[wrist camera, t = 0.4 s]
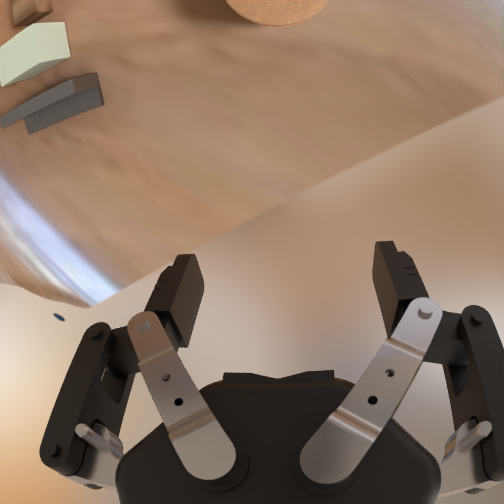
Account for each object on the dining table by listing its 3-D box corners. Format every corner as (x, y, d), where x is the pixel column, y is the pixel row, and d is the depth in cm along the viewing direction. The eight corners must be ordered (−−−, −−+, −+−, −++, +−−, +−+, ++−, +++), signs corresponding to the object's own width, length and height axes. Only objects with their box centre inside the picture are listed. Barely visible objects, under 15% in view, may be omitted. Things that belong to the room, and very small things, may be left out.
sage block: (25, 45, 29) (-5, 51, 24) (64, 22, 28) (33, 23, 22) (32, 77, 33) (1, 87, 27) (70, 56, 31) (39, 62, 26)
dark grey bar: (23, 107, 36) (-1, 117, 31) (96, 72, 33) (72, 78, 28) (31, 133, 39) (7, 146, 34) (104, 104, 36) (81, 114, 31)
